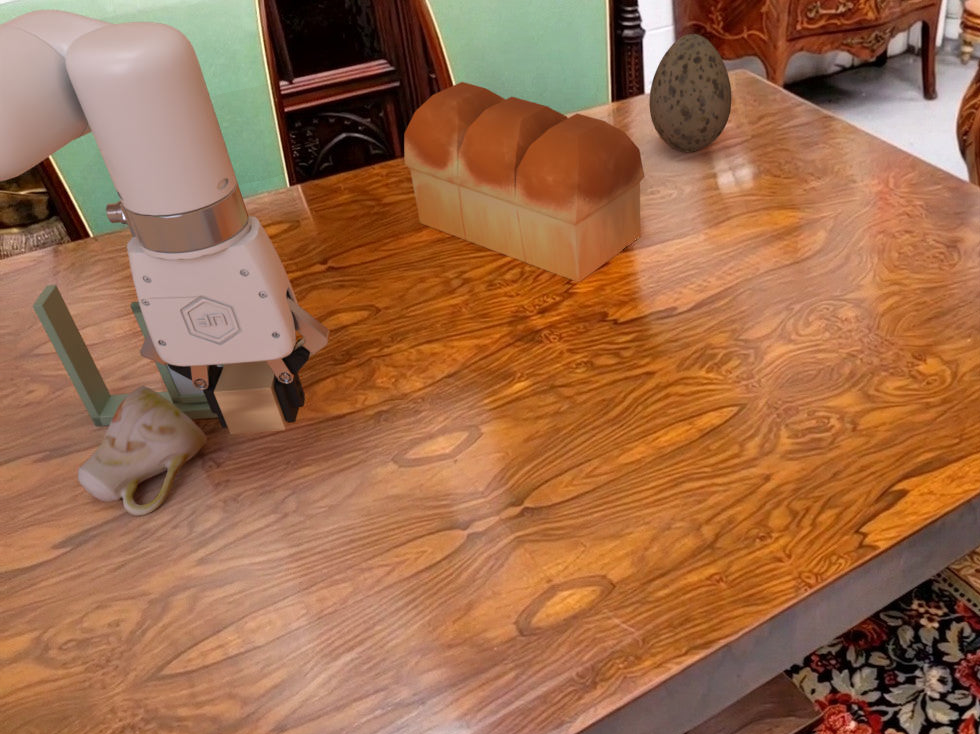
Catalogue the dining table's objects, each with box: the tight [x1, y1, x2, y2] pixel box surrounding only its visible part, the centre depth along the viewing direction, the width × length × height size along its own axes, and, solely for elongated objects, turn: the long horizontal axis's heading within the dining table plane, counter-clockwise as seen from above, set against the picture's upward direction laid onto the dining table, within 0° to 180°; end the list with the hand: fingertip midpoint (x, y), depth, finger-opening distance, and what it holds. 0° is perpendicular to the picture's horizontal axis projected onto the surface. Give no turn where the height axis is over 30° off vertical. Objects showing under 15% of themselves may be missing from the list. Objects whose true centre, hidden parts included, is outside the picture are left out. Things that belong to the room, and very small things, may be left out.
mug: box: [77, 385, 208, 516], centre depth 78 cm, size 8×10×10 cm
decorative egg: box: [648, 33, 733, 153], centre depth 122 cm, size 11×11×15 cm
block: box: [214, 361, 288, 435], centre depth 76 cm, size 4×4×4 cm
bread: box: [403, 81, 645, 283], centre depth 106 cm, size 25×12×15 cm, turn 55°
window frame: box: [32, 284, 219, 427], centre depth 82 cm, size 15×3×13 cm, turn 96°
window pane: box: [130, 236, 225, 404], centre depth 80 cm, size 6×1×17 cm, turn 96°
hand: (262, 412), depth 77 cm, fingers closed on block, 4 cm apart
